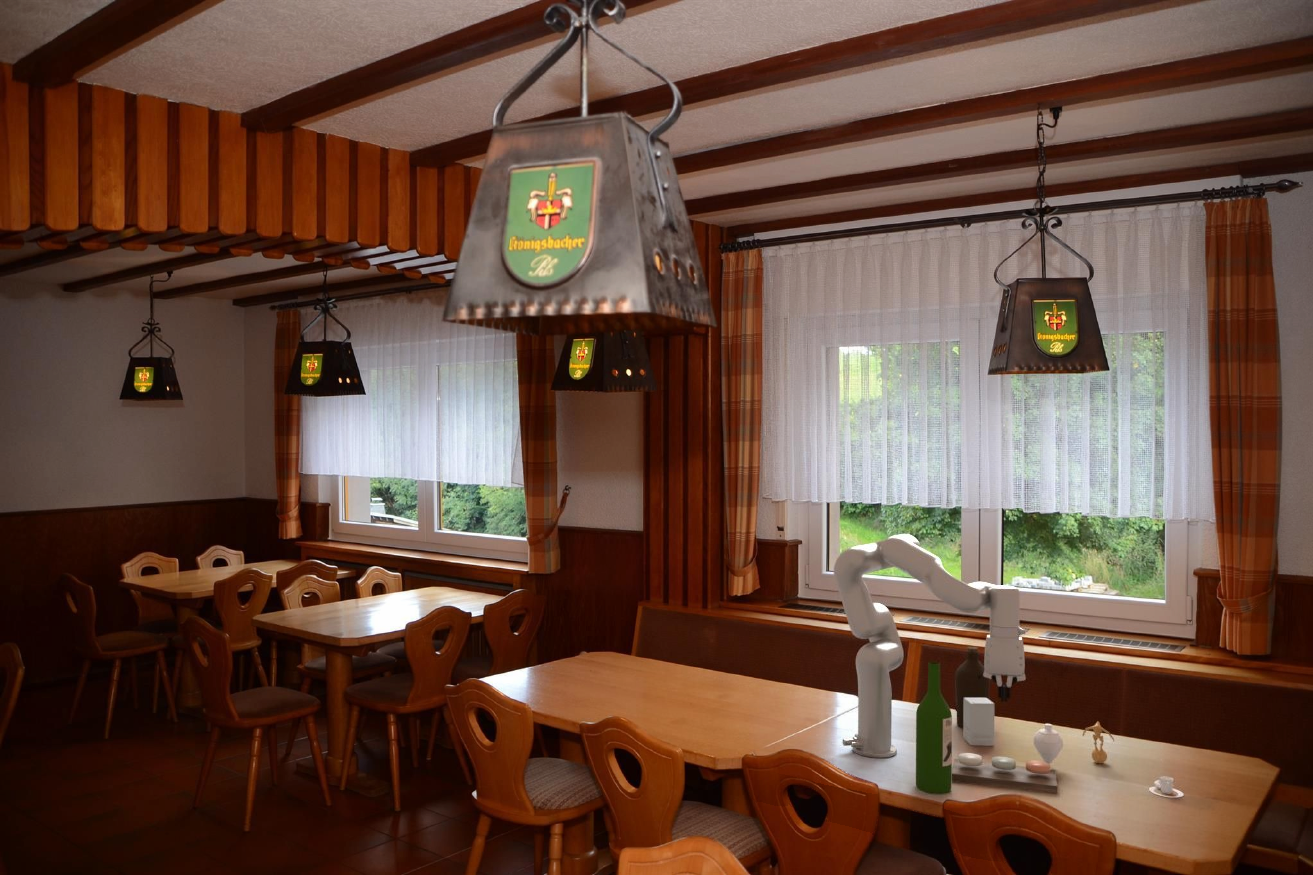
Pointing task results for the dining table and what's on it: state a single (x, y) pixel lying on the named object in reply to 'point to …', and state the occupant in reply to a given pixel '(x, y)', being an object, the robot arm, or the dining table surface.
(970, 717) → the supplement box
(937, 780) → the wine bottle
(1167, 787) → the teacup and saucer
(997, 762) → the sage button
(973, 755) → the cream button
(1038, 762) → the terracotta button
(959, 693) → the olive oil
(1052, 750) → the spinning top
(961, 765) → the button board
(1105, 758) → the figurine
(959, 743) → the dining table surface
